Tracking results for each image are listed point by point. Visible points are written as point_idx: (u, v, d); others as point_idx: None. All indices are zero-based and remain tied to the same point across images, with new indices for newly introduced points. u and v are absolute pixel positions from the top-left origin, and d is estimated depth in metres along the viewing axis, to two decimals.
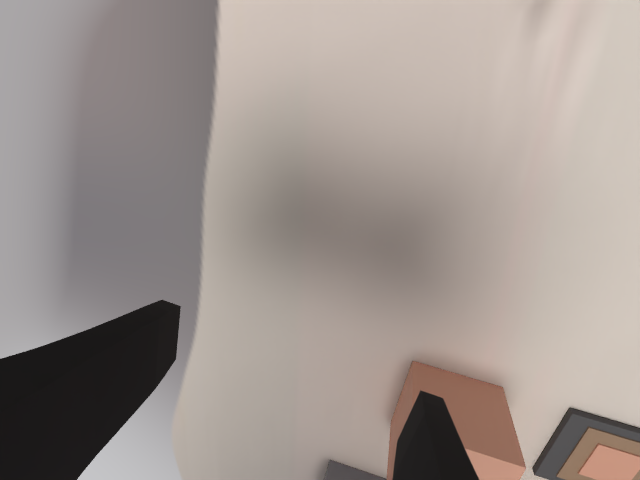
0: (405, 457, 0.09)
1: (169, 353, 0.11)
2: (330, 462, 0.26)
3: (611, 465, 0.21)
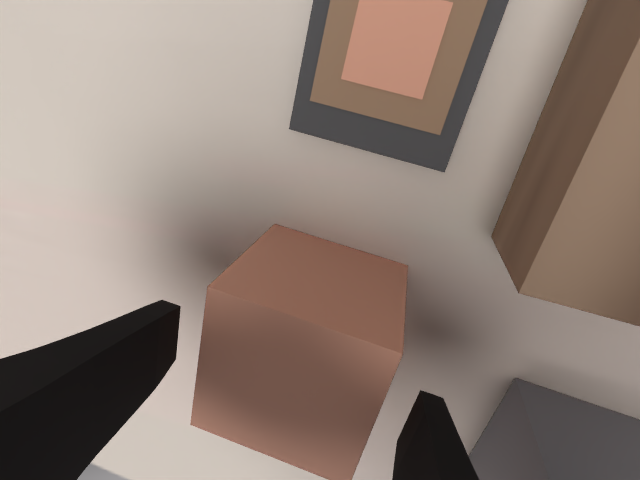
0: (405, 457, 0.09)
1: (169, 353, 0.11)
2: None
3: (394, 41, 0.10)
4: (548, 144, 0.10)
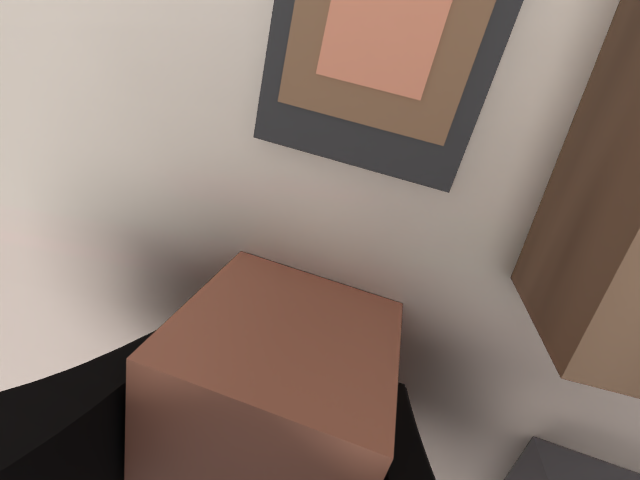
0: None
1: None
2: None
3: (383, 24, 0.08)
4: (588, 169, 0.07)
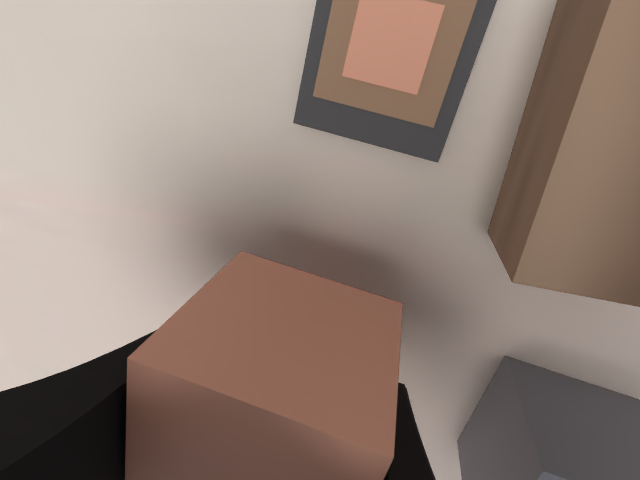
0: None
1: None
2: (458, 443, 0.17)
3: (391, 41, 0.11)
4: (529, 146, 0.11)
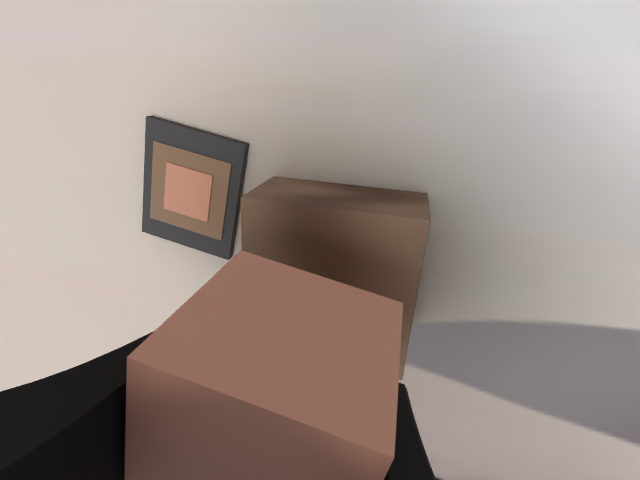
0: None
1: None
2: None
3: (188, 191, 0.18)
4: None
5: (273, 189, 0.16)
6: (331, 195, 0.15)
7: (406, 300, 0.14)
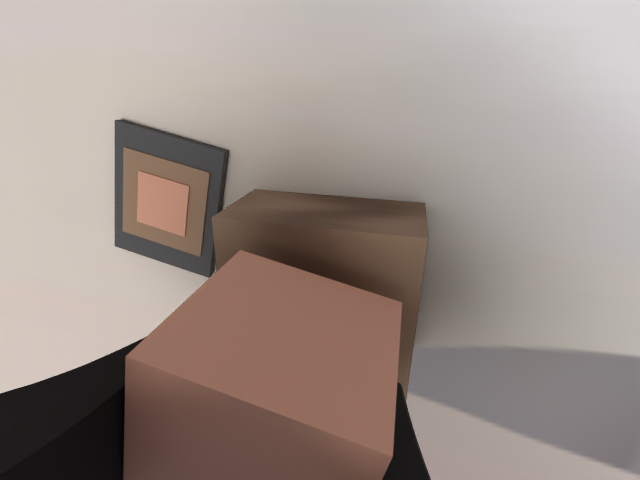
0: None
1: None
2: None
3: (163, 202, 0.17)
4: None
5: (251, 205, 0.14)
6: (316, 211, 0.13)
7: (405, 329, 0.13)
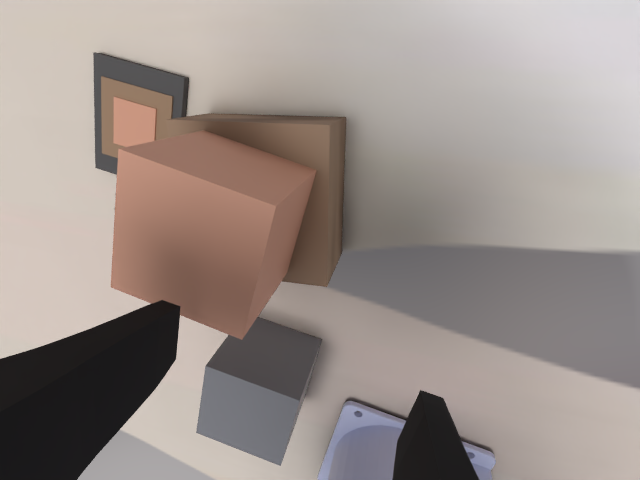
0: (405, 457, 0.09)
1: (169, 353, 0.11)
2: None
3: (135, 125, 0.20)
4: None
5: (201, 117, 0.17)
6: (252, 118, 0.17)
7: (320, 206, 0.16)
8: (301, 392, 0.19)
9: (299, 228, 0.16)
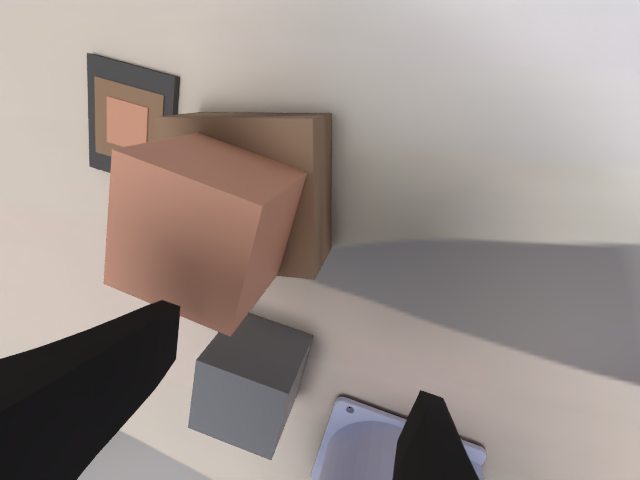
0: (405, 457, 0.09)
1: (169, 353, 0.11)
2: None
3: (127, 124, 0.20)
4: None
5: (189, 114, 0.17)
6: (239, 115, 0.17)
7: (306, 199, 0.16)
8: (290, 386, 0.19)
9: (290, 229, 0.17)
